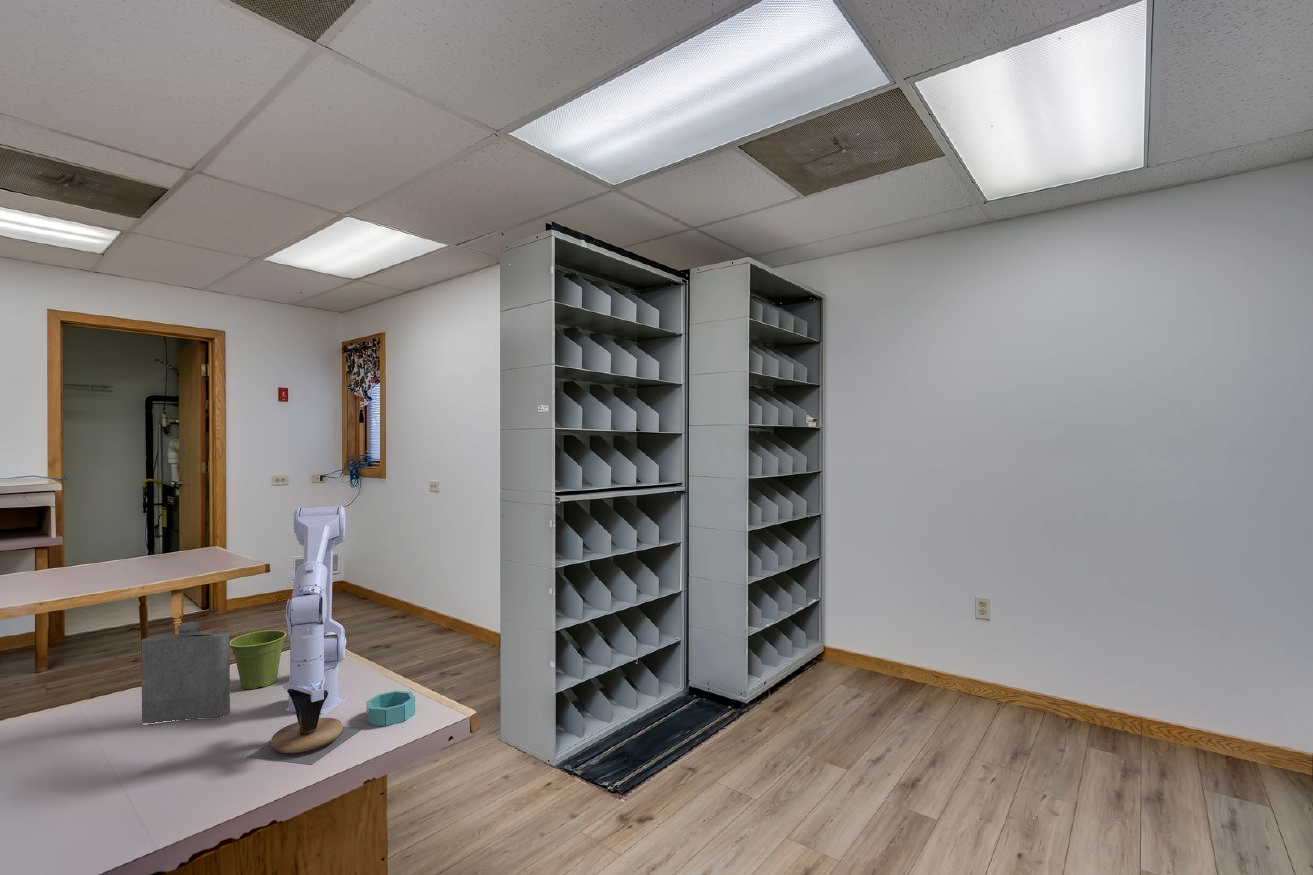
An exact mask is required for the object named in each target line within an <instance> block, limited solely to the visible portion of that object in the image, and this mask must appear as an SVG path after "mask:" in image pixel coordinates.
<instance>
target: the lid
mask: <svg viewBox="0 0 1313 875" xmlns="http://www.w3.org/2000/svg"><path fill="white" fill-rule="evenodd" d="M342 726H343V722H342V720H339V719H338V718H334V717H319V720H318V724H317V728H316V729H313V730H310V731H306V732H304V730H303V727H302V722H301V716H300V712H299V723H298V721H297V722H294V723H291V724H289V725H286V726H283V727H282V728H280V729H279V730H278V731H276V732H275V733H273V735H272V737H271V740H270V742H271V747H272V749H274V750H275V751H277V752H282V753H297V752H304V751H309V750H313V749H316V748H319V747H322V746H324V745H326V744H328V743H330V742H332V741H334V740H335V739H337V738H338V737H339V736H340V735H341V733H342Z"/></svg>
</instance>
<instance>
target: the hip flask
mask: <svg viewBox="0 0 1313 875" xmlns="http://www.w3.org/2000/svg"><path fill="white" fill-rule="evenodd" d="M198 627H199V621H189V622H183V623H179V624H177V626H176V630H177V631H178V633H177V634H168V635H167V634H166V635H159V636H150V637H146V638H143V639H141V641H140V642H141V643H140V644H141V646H140V647H141V724H142V723H155V722H163V721H172V720H175V722H177V721H176V720H184V721H186V720H185V719H194V720H199V719H198V718H212V719H221V718H220V717H222V718H224V717H223V716H225V717H227V716H230V714H231V685H230V684H231V678H230V676H231V674H230V673H231V671H230V670H231V669H230V668H231V666H230V664H231V659H230V657H231V655H230V652H231V651H230V648H231V646H230V641H231V640H230V637H231V636H230V635H231V634H230V632H229V631H216V630H210V631H209V630H206V631H205V630H201V631H200V630H198ZM226 715H227V716H226Z"/></svg>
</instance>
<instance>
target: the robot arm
mask: <svg viewBox="0 0 1313 875" xmlns="http://www.w3.org/2000/svg"><path fill="white" fill-rule="evenodd" d="M293 514H294V515H293V531H294V534H295V537H296V540H297V541H298V544H299V545H300V546H303V563H302V564H301V565H299V566H298V567H297V568H296V569H295V575H294V582H293V589H292V594H291V599H289V598H288V599H287V603H286V607H285V620H286V626H287V636H288V637H289V671H290V672H289V678H288V682H285V683H283V684H282V688H283V690H286V692H287V694H288V707H287V708H285V712H292V713H293V712H295V715H296V719H297V722H298V723H299V712H300V716H301V722H302V727H303V730H304V732H306V731H310V730H313V729H316V728H317V724H318V720H319V718H320V715H324V714H326V713H327V712H330V711H331V710H333V709H334V708H337V706H339V705H340V704H343V703H344V702H345V701H347V700H348V699H349V698H348V697H347V696H346V697H345V696H339V670H338V664H339V662H340V663H342V662H343V661H344V659H345V656H346V646H345V638H346V635H345V634H346V633H345V632H346V630H345V628H344V626H343V625H342V624H341V623H339V622H338V621H336V620H334V619H333V618H332V611H333V610H332V607H333V606H332V604H333V602H332V601H333V569H334V568H333V566H334V565H333V563H334V560H333V559H334V554H335V553H334V552H335V549H336V546H338V545H339V544H341V543H344V540H345V538H346V520H347V519H346V516H347V515H346V508H345V507H344V506H343V505H338V506H337V505H335V506H319V507H301V506H299V507H297V509H295V511H294V513H293ZM328 632H333V633H335V634H332V635H325V634H326V633H328ZM339 665H340V664H339Z"/></svg>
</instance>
